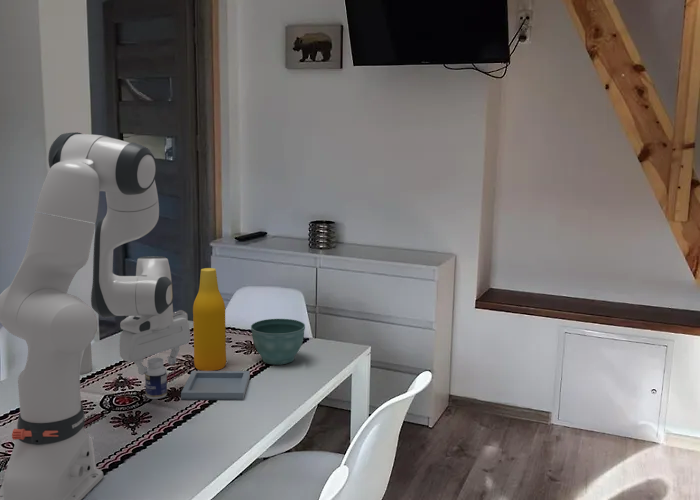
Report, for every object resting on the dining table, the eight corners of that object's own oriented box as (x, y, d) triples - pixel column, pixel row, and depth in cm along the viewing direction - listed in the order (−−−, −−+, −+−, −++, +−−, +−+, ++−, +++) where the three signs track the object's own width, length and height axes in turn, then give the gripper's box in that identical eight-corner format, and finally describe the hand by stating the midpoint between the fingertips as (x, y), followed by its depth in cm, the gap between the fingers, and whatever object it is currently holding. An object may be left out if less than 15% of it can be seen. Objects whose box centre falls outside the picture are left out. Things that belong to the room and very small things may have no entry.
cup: (82, 376, 199) (81, 346, 197) (51, 373, 201) (49, 342, 199) (97, 368, 205) (95, 338, 204) (66, 364, 208) (65, 335, 206)
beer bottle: (231, 362, 212) (230, 267, 207) (218, 373, 203) (216, 273, 198) (202, 359, 214) (200, 265, 209) (188, 369, 205) (186, 271, 200)
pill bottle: (141, 398, 184) (140, 362, 183) (153, 390, 189) (151, 355, 188) (160, 400, 183) (158, 364, 181) (171, 393, 188) (169, 357, 186)
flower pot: (241, 357, 216) (240, 323, 214) (286, 348, 226) (286, 315, 224) (268, 373, 204) (268, 336, 202) (315, 362, 213) (315, 327, 211)
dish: (243, 400, 184) (243, 392, 184) (181, 400, 184) (181, 392, 183) (249, 377, 200) (249, 371, 200) (192, 377, 199) (192, 370, 199)
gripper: (178, 306, 192) (180, 355, 195) (114, 324, 176) (117, 377, 179) (194, 310, 189) (196, 359, 192) (130, 328, 173) (133, 382, 175)
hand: (157, 368), depth 185 cm, fingers open, 8 cm apart
